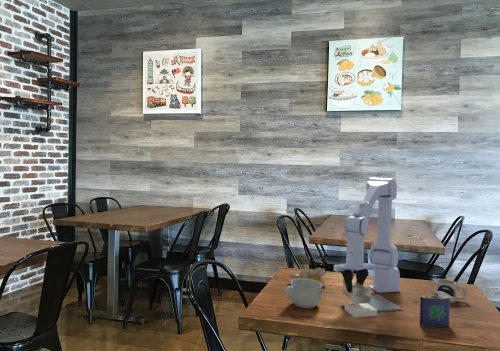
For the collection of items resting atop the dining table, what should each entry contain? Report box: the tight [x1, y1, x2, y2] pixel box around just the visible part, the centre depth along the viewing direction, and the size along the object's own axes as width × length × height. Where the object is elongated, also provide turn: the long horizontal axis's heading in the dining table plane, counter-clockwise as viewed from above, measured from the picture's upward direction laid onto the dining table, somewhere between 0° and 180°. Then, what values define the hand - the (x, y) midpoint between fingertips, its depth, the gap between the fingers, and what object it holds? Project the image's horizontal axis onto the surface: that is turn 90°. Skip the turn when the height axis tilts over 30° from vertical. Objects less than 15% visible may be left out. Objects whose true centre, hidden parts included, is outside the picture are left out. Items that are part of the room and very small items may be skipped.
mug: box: [435, 278, 468, 304], centre depth 154 cm, size 10×7×7 cm, turn 65°
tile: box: [344, 303, 378, 318], centre depth 139 cm, size 8×2×7 cm
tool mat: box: [367, 294, 403, 313], centre depth 149 cm, size 10×15×1 cm, turn 14°
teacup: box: [284, 278, 323, 309], centre depth 144 cm, size 14×11×8 cm
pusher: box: [342, 278, 372, 304], centre depth 144 cm, size 6×11×5 cm, turn 14°
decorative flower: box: [288, 267, 329, 285], centre depth 169 cm, size 15×11×10 cm
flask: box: [419, 290, 451, 329], centre depth 129 cm, size 9×3×11 cm, turn 95°
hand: (353, 291), depth 144 cm, fingers closed on pusher, 3 cm apart
